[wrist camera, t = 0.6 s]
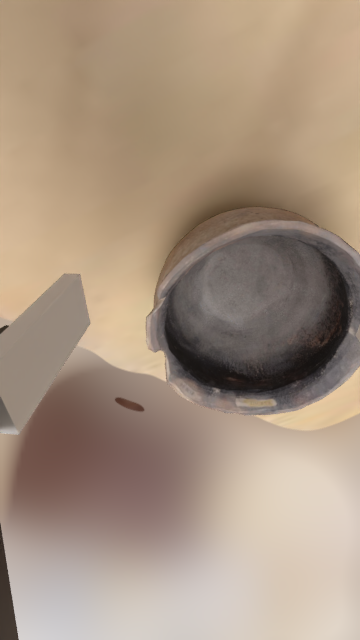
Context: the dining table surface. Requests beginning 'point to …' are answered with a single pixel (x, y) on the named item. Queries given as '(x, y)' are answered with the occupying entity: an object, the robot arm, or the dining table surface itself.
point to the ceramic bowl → (257, 312)
